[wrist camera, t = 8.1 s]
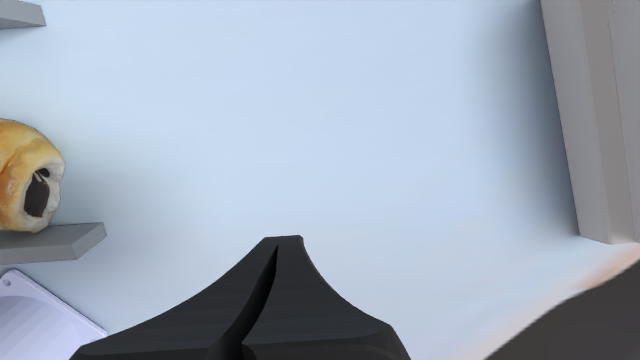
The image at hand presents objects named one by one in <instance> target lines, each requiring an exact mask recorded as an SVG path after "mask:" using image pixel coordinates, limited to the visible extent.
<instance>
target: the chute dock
mask: <svg viewBox="0 0 640 360" xmlns="http://www.w3.org/2000/svg"><path fill="white" fill-rule="evenodd" d="M34 26H46V23H45V19H44V16H43V12H42V9H41V6H40V5H36V4H31V3H27V2H23V1H19V0H0V29H6V28H20V27H34ZM106 236H107V235H106V232H105V228H104V225H103V223H88V224H74V225H59V226H47V227H46V228H44V229H42V230H41V231H39V232H36V233H31V232H29V231H23V232H19V231H14V230H3V231H0V265H5V264H20V263H34V262H49V261H63V260H77V259H78V258H80V257H81V256H82V255H83V254H85V253H86V252H87V251H88V250H90V249H91V248H92V247H94V246H95V245H96V244H97V243H99V242H100V241H101V240H102V239H104V238H105V237H106Z"/></svg>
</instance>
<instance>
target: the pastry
mask: <svg viewBox="0 0 640 360" xmlns="http://www.w3.org/2000/svg"><path fill="white" fill-rule="evenodd" d="M64 168H65V162H64V159H63V157H62V155H61V154H60V152H59V151H58V150H57V149H56V148H55V147H54V146H53V145H52V143H51V142H50V141H49V140H48V139H47V138H46V137H45V136H44V135H42V134H41V133H40V132H39V131H37V130H36V129H34V128H32V127H29V126H27V125H24V124H21V123H19V122H16V121H15V120H7V119H1V118H0V231H3V230H14V231H19V232H23V231H29V232H31V233H36V232H39V231H41V230H42V229H44V228H46V227H47V226H48V224H49V221H50V219H51V217H52V216H53V213H54V211H56V210H57V209H58V206H59V203H60V185H59V181H60V179H61V178H62V176H63V173H64Z"/></svg>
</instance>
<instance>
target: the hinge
mask: <svg viewBox="0 0 640 360" xmlns="http://www.w3.org/2000/svg"><path fill="white" fill-rule="evenodd" d="M540 2H541V8H542V14H543V20H544V26H545V32H546V38H547V44H548V50H549V55H550V61H551V67H552V73H553V79H554V85H555V91H556V97H557V103H558V108H559V114H560V120H561V126H562V132H563V138H564V144H565V150H566V156H567V161H568V167H569V173H570V179H571V185H572V191H573V197H574V203H575V209H576V214H577V220H578V226H579V232H580V236H582V237H585V238H588V239H591V240H595V241H598V242H601V243H605V244H622V243H635V242H636V243H640V0H540Z"/></svg>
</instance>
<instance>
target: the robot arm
mask: <svg viewBox="0 0 640 360" xmlns="http://www.w3.org/2000/svg"><path fill="white" fill-rule="evenodd" d="M8 280H9V281H10V282H9V281H8ZM0 360H411V359H410V357H409V355H408V353H407V351H406V349H405V347H404V346H403V344H402V342H401V340H400V339H399V337H398V335H397V334H396V332H395V331H394V329H393V328H392V326H391V325H389V324H387V323H385V322H383V321H381V320H379V319H376V318H374V317H372V316H370V315H368V314H366V313H364V312H363V311H361V310H359V309H358V308H356V307H354V306H353V305H351V304H350V303H349V302H348V301H346V300H345V299H344V298H342V297H341V296H340V295H339V294H338V293H337V292H336V291H335V290H334V289H332V287H331V286H330V285H329V284H328V283H327V282H326V281H325V280H324V278H323V277H322V276H321V275H320V273H319V272H318V271H317V269H316V268H315V266H314V265H313V263H312V261H311V259H310V258H309V256H308V254H307V252H306V250H305V247H304V243H303V237H301V236H300V235H293V236H278V237H265V238H264V239H262V240H261V241H260V242H259V243H258V244H257V245H256V246H255V247H254V248H253V249H252V250H251V251H250V252H249V253H248V254H247V255H246V256H245V257H244V258H243V259H242V260H241V261H239V262H238V263H237V264H236V265H235V266H234V267H232V268H231V269H230V270H229V271H228V272H226V273H225V274H224V275H223V276H222V277H221V278H219V279H218V280H217V281H215V282H214V283H213V284H211V285H210V286H208V287H207V288H205V289H204V290H202V291H201V292H199V293H198V294H196V295H195V296H193V297H191V298H190V299H188V300H186V301H184V302H182V303H181V304H179V305H177V306H175V307H173V308H172V309H170V310H168V311H166V312H164V313H162V314H160V315H158V316H156V317H154V318H152V319H150V320H147V321H145V322H143V323H140V324H138V325H136V326H134V327H131V328H129V329H126V330H124V331H121V332H118V333H116V334H113V335H110V336H108V334H107V332H106V331H105V330H103V329H102V328H100V327H99V326H98V325H96V324H95V323H93V322H92V321H90V320H89V319H87V318H86V317H85V316H83V315H82V314H80V313H79V312H77V311H76V310H74V309H73V308H72V307H70V306H69V305H67V304H66V303H64V302H63V301H61V300H60V299H59V298H57V297H56V296H54V295H53V294H51V293H50V292H48V291H47V290H46V289H44V288H43V287H41V286H40V285H38V284H37V283H35V282H34V281H33V280H31V279H30V278H28V277H27V276H25V275H24V274H22V273H21V272H20V271H18V270H14V269H12V270H9V271H8V272H6V273H5V274H4V275H3V276H2V277H1V278H0Z"/></svg>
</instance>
